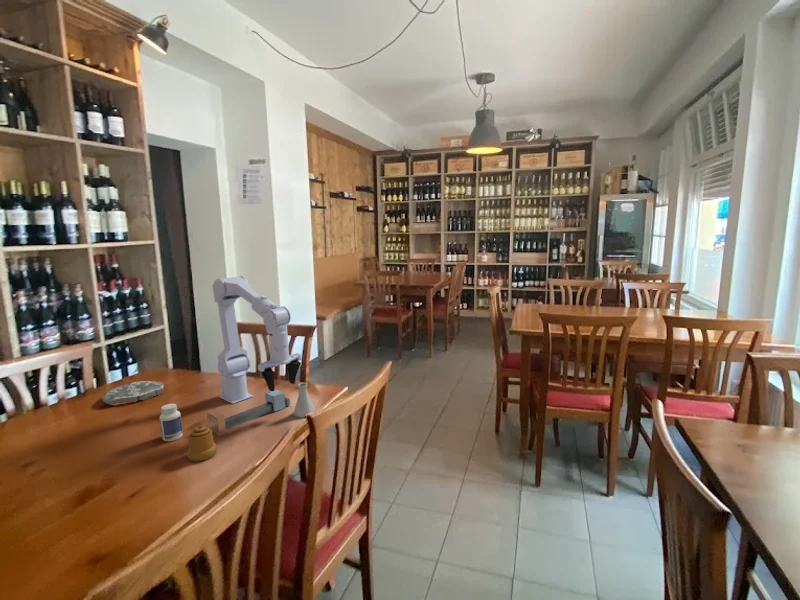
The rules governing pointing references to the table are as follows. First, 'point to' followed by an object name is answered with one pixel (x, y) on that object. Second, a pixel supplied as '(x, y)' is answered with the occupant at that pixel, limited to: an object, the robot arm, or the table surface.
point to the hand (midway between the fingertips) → (282, 386)
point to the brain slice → (133, 392)
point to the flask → (303, 402)
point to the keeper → (276, 399)
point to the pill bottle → (170, 423)
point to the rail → (237, 417)
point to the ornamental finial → (201, 444)
